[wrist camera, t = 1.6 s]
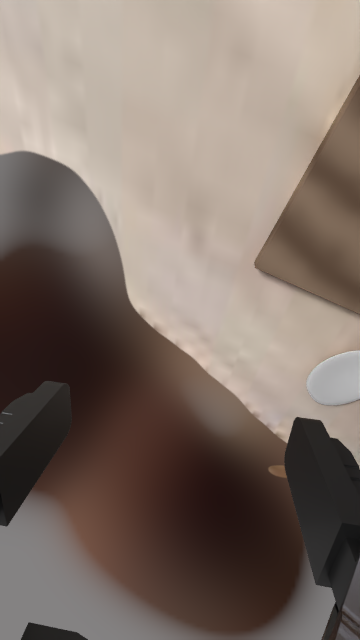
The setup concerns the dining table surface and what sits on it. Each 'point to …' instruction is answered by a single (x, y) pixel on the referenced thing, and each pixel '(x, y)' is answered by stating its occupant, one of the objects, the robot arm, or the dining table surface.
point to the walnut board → (324, 218)
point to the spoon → (336, 379)
